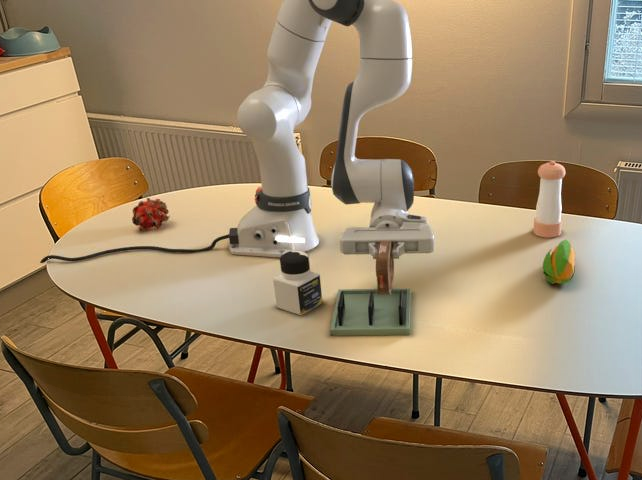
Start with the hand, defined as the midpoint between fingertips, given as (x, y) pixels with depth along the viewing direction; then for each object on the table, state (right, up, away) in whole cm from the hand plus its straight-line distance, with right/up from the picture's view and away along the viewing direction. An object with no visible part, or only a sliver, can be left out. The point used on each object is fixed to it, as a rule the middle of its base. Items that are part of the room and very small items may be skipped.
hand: (386, 255), depth 154 cm
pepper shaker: (+39, +12, +43) cm, 60 cm away
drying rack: (-3, -12, +3) cm, 13 cm away
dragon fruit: (-67, +14, +46) cm, 82 cm away
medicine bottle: (-19, -10, +7) cm, 23 cm away
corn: (+39, -1, +21) cm, 45 cm away
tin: (0, -6, +1) cm, 6 cm away
